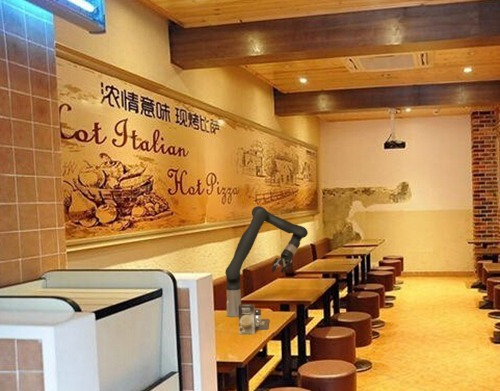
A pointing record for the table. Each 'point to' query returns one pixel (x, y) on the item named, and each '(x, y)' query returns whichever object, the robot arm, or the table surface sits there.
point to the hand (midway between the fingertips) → (276, 272)
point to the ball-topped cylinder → (258, 315)
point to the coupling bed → (262, 325)
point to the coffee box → (246, 318)
